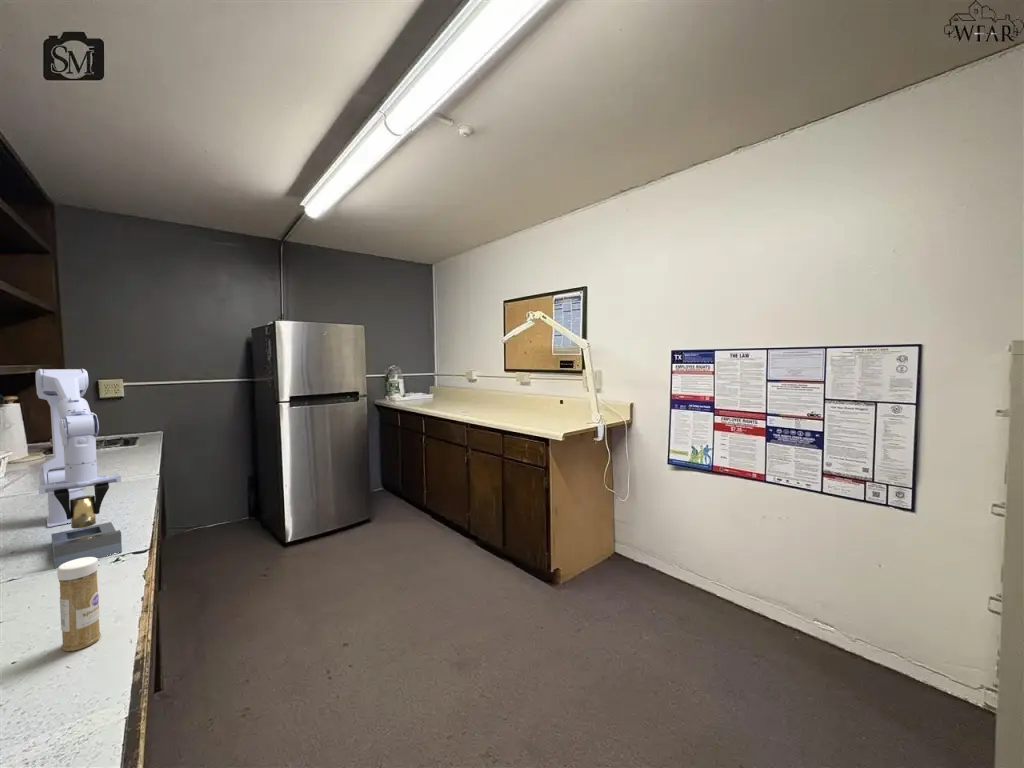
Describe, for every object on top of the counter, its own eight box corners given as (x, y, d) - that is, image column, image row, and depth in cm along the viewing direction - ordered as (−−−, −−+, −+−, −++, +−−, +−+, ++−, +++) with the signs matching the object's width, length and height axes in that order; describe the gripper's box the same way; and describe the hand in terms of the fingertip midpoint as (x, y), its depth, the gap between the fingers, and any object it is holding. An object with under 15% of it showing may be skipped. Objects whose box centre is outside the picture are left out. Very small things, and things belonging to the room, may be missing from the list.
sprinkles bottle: (97, 645, 68) (93, 563, 68) (56, 656, 66) (52, 571, 65) (104, 630, 72) (101, 553, 71) (66, 640, 69) (62, 560, 69)
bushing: (70, 525, 107) (69, 497, 107) (95, 520, 111) (93, 493, 110) (71, 529, 104) (70, 501, 104) (96, 524, 108) (95, 497, 108)
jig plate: (51, 543, 107) (51, 524, 107) (111, 531, 115) (110, 512, 115) (54, 569, 94) (53, 546, 94) (121, 552, 102) (121, 532, 102)
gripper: (37, 470, 99) (40, 527, 99) (121, 460, 110) (124, 511, 110) (37, 465, 103) (40, 520, 104) (118, 456, 114) (120, 505, 115)
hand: (83, 515), depth 107 cm, fingers closed on bushing, 4 cm apart
